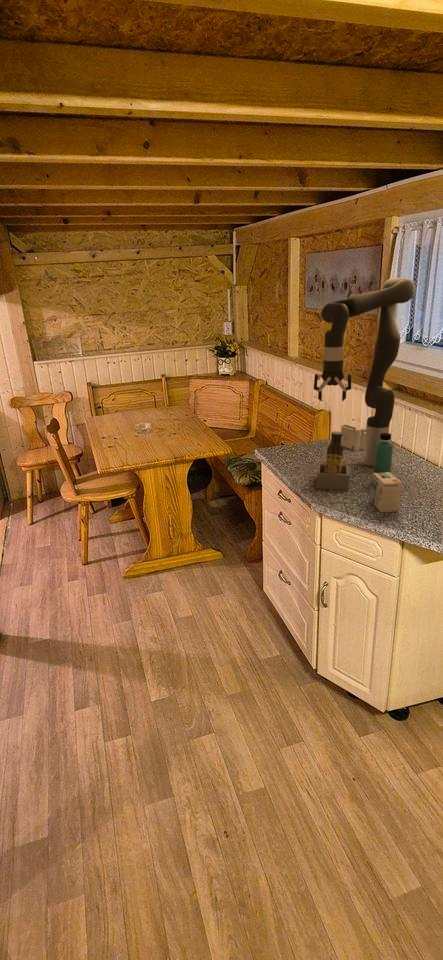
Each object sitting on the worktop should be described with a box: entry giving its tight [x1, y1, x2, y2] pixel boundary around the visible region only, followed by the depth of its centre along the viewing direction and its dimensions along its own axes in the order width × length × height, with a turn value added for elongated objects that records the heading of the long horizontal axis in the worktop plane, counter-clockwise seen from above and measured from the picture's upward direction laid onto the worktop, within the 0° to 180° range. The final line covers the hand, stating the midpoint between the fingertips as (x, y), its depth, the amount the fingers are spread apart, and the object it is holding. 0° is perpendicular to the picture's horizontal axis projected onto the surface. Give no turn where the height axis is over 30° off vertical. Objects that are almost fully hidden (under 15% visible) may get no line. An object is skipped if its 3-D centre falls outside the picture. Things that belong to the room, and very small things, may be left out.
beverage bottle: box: [373, 432, 394, 473], centre depth 198 cm, size 6×7×20 cm
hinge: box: [340, 424, 366, 451], centre depth 241 cm, size 14×5×10 cm, turn 44°
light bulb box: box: [369, 471, 403, 513], centre depth 179 cm, size 11×7×11 cm, turn 5°
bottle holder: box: [316, 463, 350, 491], centre depth 201 cm, size 12×12×6 cm
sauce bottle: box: [325, 431, 344, 474], centre depth 198 cm, size 6×6×20 cm
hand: (331, 400), depth 200 cm, fingers open, 8 cm apart
